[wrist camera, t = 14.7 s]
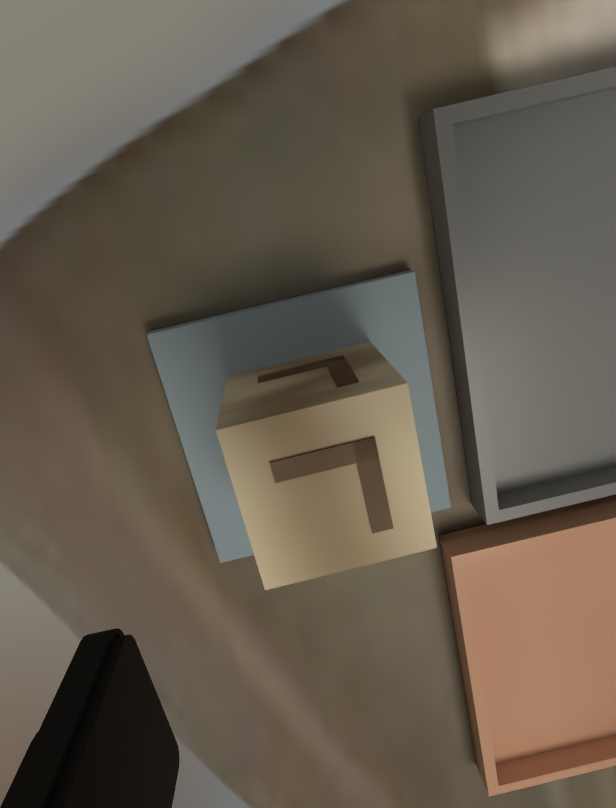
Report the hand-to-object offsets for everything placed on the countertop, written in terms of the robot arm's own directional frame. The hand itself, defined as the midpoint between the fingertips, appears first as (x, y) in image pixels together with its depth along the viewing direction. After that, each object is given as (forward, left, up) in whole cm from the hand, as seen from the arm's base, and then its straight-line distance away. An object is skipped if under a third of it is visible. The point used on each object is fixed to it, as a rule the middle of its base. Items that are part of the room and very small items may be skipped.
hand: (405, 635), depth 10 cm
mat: (+1, 0, -11) cm, 11 cm away
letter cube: (+1, 0, -11) cm, 11 cm away
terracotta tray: (-10, +12, -11) cm, 19 cm away
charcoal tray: (-12, -2, -11) cm, 16 cm away
